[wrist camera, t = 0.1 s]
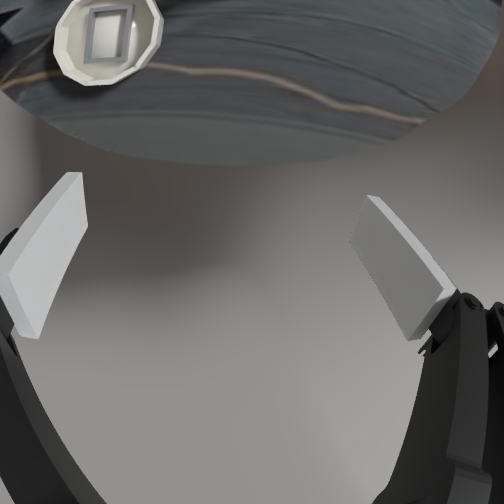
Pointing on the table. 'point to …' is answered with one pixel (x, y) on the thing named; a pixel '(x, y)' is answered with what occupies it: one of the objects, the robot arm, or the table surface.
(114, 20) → the white round dish
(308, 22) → the table surface
